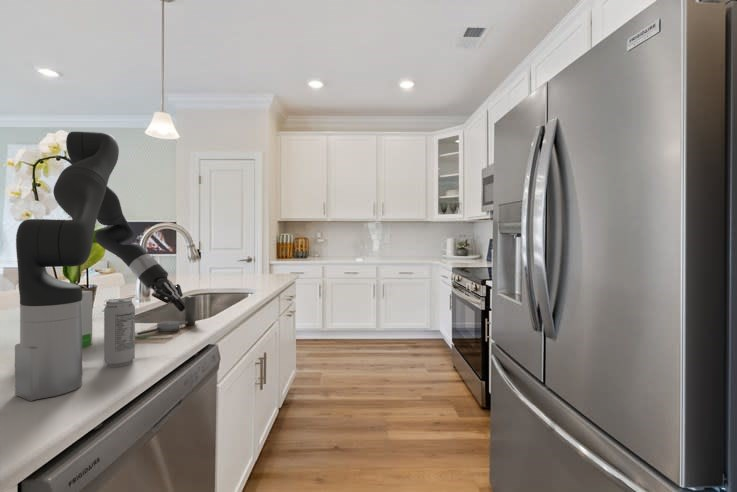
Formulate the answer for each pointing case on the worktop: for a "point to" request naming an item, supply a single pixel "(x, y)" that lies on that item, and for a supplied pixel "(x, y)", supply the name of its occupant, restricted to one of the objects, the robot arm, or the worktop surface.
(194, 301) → the tuning peg
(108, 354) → the energy drink can
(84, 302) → the skincare box
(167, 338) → the tuner board
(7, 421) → the worktop surface
